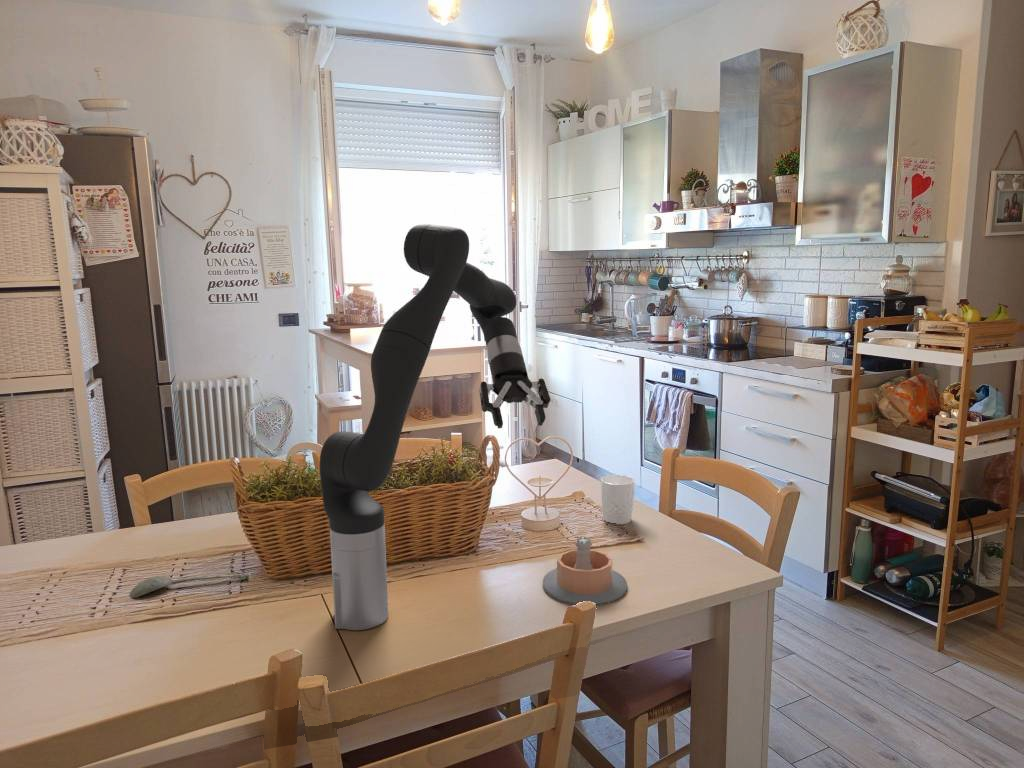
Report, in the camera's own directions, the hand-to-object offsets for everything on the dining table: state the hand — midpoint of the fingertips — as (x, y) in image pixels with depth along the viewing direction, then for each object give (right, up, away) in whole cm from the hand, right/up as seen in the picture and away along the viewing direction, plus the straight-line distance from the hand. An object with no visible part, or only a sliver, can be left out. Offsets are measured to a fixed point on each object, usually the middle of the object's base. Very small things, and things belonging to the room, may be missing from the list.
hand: (521, 425), depth 147 cm
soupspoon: (-64, -32, -6) cm, 72 cm away
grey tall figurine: (+12, -29, -8) cm, 32 cm away
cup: (+12, -30, -8) cm, 34 cm away
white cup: (+23, -24, +27) cm, 43 cm away
